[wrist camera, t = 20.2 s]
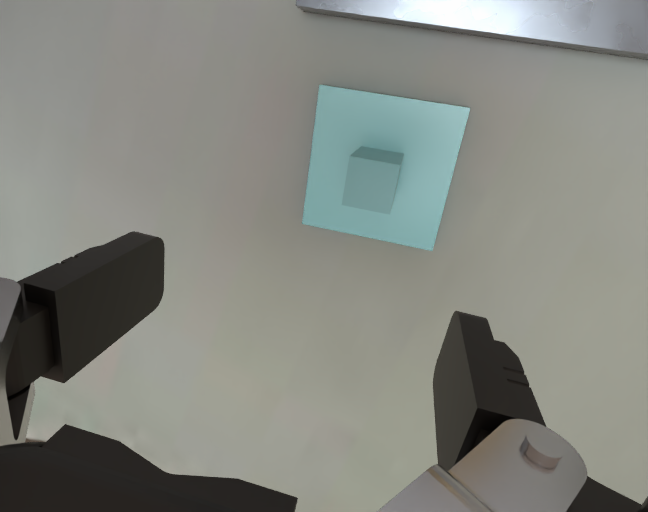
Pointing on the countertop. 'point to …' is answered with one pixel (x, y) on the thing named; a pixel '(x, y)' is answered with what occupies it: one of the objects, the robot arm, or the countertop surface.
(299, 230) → the countertop surface
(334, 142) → the cover
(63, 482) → the robot arm
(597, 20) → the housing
